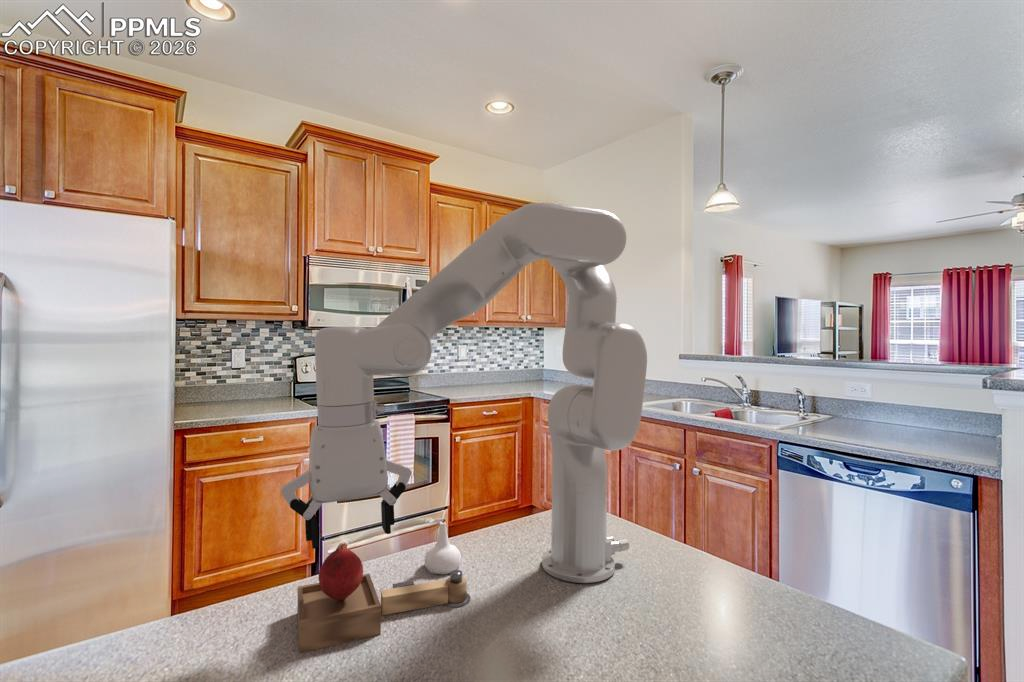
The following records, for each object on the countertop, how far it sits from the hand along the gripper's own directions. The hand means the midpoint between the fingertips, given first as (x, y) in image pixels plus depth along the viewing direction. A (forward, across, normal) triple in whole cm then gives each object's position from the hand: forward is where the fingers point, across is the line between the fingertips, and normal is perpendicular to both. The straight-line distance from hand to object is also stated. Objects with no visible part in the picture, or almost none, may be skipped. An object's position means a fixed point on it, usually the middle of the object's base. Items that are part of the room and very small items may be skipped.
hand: (351, 537), depth 70 cm
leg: (+12, -10, 0) cm, 16 cm away
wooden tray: (+12, +2, 0) cm, 12 cm away
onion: (+9, +2, 0) cm, 9 cm away
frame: (+12, -11, 0) cm, 17 cm away
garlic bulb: (+13, -16, -11) cm, 23 cm away
